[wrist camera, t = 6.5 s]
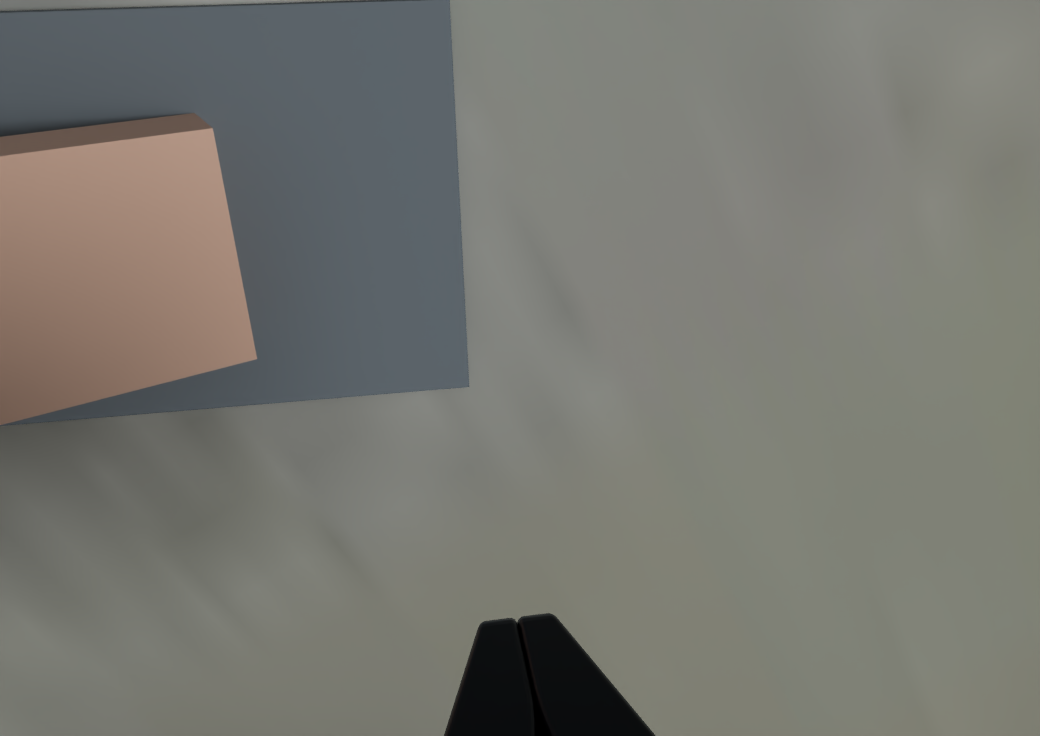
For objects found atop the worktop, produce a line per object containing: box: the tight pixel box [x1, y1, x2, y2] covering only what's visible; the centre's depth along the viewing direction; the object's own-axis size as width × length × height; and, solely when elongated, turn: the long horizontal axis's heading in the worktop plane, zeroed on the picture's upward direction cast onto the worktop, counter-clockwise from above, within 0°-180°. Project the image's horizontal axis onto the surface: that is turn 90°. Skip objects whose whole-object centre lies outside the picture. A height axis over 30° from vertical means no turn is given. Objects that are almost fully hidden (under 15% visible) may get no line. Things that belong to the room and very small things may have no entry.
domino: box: [0, 113, 257, 425], centre depth 16 cm, size 2×5×8 cm
